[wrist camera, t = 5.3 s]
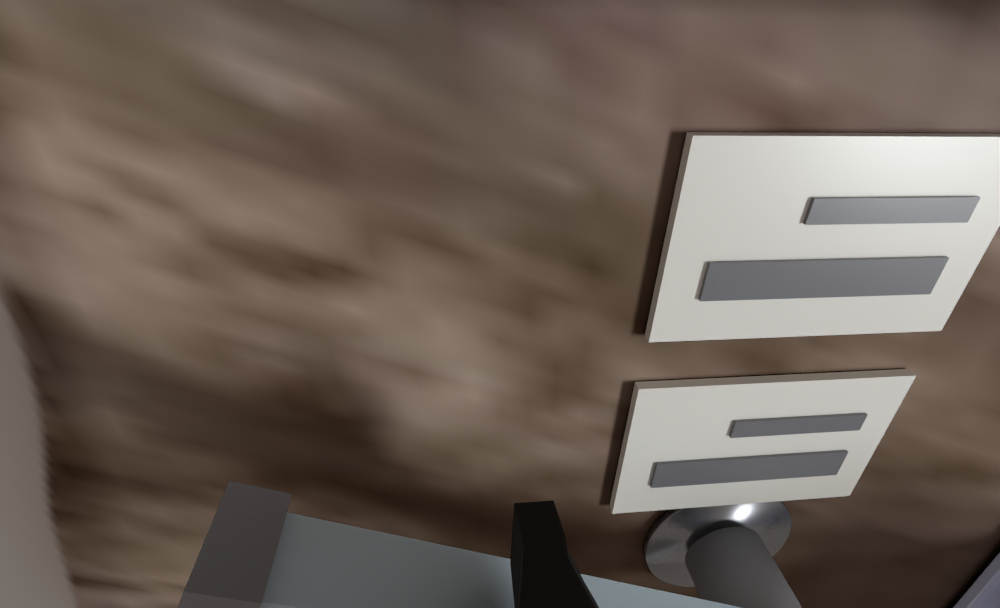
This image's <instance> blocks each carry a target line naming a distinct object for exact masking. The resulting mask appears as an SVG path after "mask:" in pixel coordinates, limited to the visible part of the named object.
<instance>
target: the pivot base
mask: <svg viewBox="0 0 1000 608" xmlns="http://www.w3.org/2000/svg"><path fill="white" fill-rule="evenodd" d="M728 527H746V528H749V529H752V530H754V531H756V532H757V533H758V534H759V536H760V537H761V539H762V541H763V542H764V544H765V546H766V548H767V549H768V551H769V553H770V554H771V556H772V557H773V556H774V555H775V554H776V553H777V552H778V551H779V550H780V549H781V547H782V546H783V545H784V543H785V542H786V540H787V538H788V536H789V533H790V530H791V517H790V514H789V512H788V510H787V509H786V507H785V506H784V504H783V503H782V501H775V502H762V503H749V504H735V505H722V506H709V507H696V508H682V509H670V510H668V511H667V512H666V513H665V514H664V515H662V516H661V517H660V518H659V519H658V520H657V521H656V522H655V524H654V525H653V526H652V527H651V529H650V530H649V532H648V534H647V536H646V539H645V541H644V547H643V551H644V556H645V560H646V562H647V565H648V567H649V569H650V571H651V572H652V573H653V575H654V576H656V577H657V578H658V579H660V580H662V581H664V582H666V583H669V584H672V585H676V586H683V587H695V585H694V583H693V580H692V578H691V576H690V574H689V571H688V569H687V567H686V564H685V555H686V553H687V551H688V549H689V548H690V547H691V546H692V545H693V544H694V543H695V542H696V541H697V540H699V539H700V538H701V537H703V536H705V535H707V534H709V533H711V532H713V531H716V530H719V529H723V528H728Z"/></svg>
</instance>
